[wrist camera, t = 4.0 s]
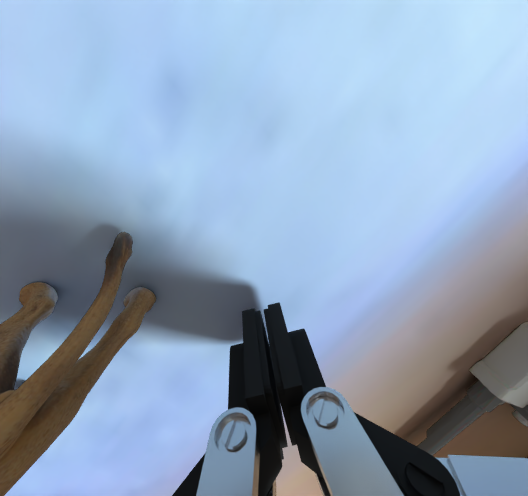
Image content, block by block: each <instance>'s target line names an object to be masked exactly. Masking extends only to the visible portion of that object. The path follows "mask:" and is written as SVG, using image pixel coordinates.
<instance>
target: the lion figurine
mask: <svg viewBox="0 0 528 496" xmlns="http://www.w3.org/2000/svg"><path fill="white" fill-rule="evenodd" d="M132 244H133V241H132V237H131V236H130V235H129V234H128V233H126V232H121V233H119V234H118V235H117V237H116V239H115V241H114V244H113V246H112V248H111V250H110V251H109V253H108V255H107V257H106V270H105V276H104V280H103V283H102V287H101V289H100V292H99V294H98V296H97V297H96V299H95V300H94V302H93V304H92V305H91V307H90V308H89V310H88V311H87V313H86V314H85V315H84V317H83V318H82V319H81V321H80V322H79V324H78V325H77V326H76V327H75V329H74V330H73V331H72V332H71V334H70V335H69V336H68V337H67V338H66V340H65V341H64V342H63V343H62V344H61V346H60V347H59V348H58V349H57V350H56V351H55V352H54V353H53V354H52V355H51V356H50V357H49V358H48V360H47V361H45V362H44V363H43V364H42V365H41V366H40V367H39V368H38V369H37V370H36V371H35V372H34V373H33V374H32V375H31V376H30V377H29V378H28V379H27V380H26V381H25V382H24V383H23V384H22V385H21V386H20V387H19V388H18V389H16V390H14V385H15V381H16V378H17V373H18V368H19V362H20V357H21V353H22V350H23V348H24V346H25V344H26V342H27V340H28V338H29V335H30V332H31V331H32V329H33V328H34V327H35V326H36V325H37V324H38V323H39V322H41V321H42V320H44V319H46V318H47V317H49V316H50V315H51V314H52V312H53V310H54V307H55V304H56V301H57V300H58V296H57V293H56V291H55V289H54V288H53V287H51V286H50V285H48V284H46V283H42V282H36V283H31V284H28V285H26V286H25V287H23V288H22V289H21V291H20V297H19V301H20V302H21V304H22V305H23V307H22V308H21V309H20V310H19V311H18V312H17V313H16V314H14V315H13V316H12V317H10V318H9V319H8V320H6V321H5V322H3V323H2V324H0V496H4V495H5V494H6V493H7V492H8V491H9V490H10V489H11V488H12V487H13V485H14V484H15V483H16V482H17V481H18V480H19V479H20V478H21V477H22V476H23V475H24V474H25V472H26V471H27V470H28V469H29V468H30V467H31V466H32V465H33V464H34V463H35V462H36V461H37V459H38V458H39V457H40V456H41V455H42V454H43V453H44V452H45V451H46V450H47V449H48V448H49V446H50V445H51V444H52V443H53V442H54V441H55V440H56V438H57V437H58V436H59V435H60V434H61V433H62V432H63V430H64V429H65V428H66V427H67V426H68V425H69V424H70V422H71V421H72V420H73V418H74V417H75V415H76V414H77V412H78V411H79V409H80V407H81V405H82V403H83V402H84V400H85V398H86V396H87V394H88V393H89V392H90V390H91V389H92V387H93V386H94V385H95V383H96V382H97V380H98V379H99V377H100V376H101V374H102V373H103V371H104V370H105V369H106V367H107V366H108V364H109V363H110V361H111V360H112V359H113V357H114V356H115V354H116V353H117V352H118V351H119V350H120V348H121V347H122V346H123V345H124V344H125V343H126V341H127V340H128V339H129V338H130V337H131V336H133V335H134V334H135V333H136V332H137V330H138V329H139V327H140V325H141V322H142V320H143V317H144V315H145V313H146V312H148V311H149V310H150V309H151V308H152V306H153V304H154V303H155V301H156V297H155V295H154V293H153V292H151V291H150V290H148V289H146V288H144V287H137V288H135V289H133V290H131V291H130V292H129V293H128V294H127V295H126V297H125V299H124V301H123V303H124V305H125V309H124V310H123V311H122V312H121V313H120V315H119V316H118V317H117V318H116V319H115V320H114V321H113V323H112V325H111V326H110V328H109V329H108V331H107V332H106V333H105V335H104V336H103V337H102V338H101V340H100V341H99V342H98V343H97V345H96V346H95V347H94V348H93V349H91V350H90V351H89V352H88V353H87V354H85V355H84V356H83V357H82V358H80V359H79V357H80V356H81V355H82V353H83V352H84V350H85V349H86V348H87V346H88V345H89V343H90V342H91V340H92V339H93V337H94V336H95V334H96V333H97V331H98V330H99V328H100V327H101V325H102V324H103V322H104V321H105V319H106V317H107V315H108V313H109V312H110V309H111V307H112V305H113V302H114V300H115V297H116V294H117V291H118V288H119V285H120V282H121V276H122V271H123V269H124V266H125V263H126V262H127V260H128V259H129V257H130V256H131V255H132ZM78 359H79V360H78Z"/></svg>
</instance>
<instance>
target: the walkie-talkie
mask: <svg viewBox="0 0 528 496" xmlns="http://www.w3.org/2000/svg"><path fill="white" fill-rule="evenodd" d="M469 370H470V372H471V373H472V374H473V375H475V376H476V377H477V378H478V379H479V380H478V381H477V382H476V383H475V384H474V385H473V386H472V387H470V388H469V389H468V390H467V396H465V397H464V398H463V399H462V400H461V401H460V402H459V403H457V404H456V405H455V406H454V407H453V408H452V409H451V410H450V411H448V412H447V413H446V414H445V415H444V416H443V417H442V418H440V419H439V420H438V421H437V422H436V423H435V424H434V425H432V426H431V427H430V428H429V429H428V430H427V438H426V439H425V440H424V441H422V442H421V443H420V444H419V445H418V446H417V447H418V448H420V449H422V450H424V451H426V452H427V453H429V454H431V455H432V456H433V455H434V454H435V453H436V452H437V451H439V450H440V449H441V448H442V447H443V446H445V445H446V444H447V443H448V442H449V441H451V440H452V439H453V438H454V437H456V436H457V435H458V434H459V433H460V432H462V431H463V430H464V429H465V428H466V427H468V426H469V425H470V424H471V423H472V422H474V421H475V420H476V419H477V418H478V417H480V416H481V415H482V414H483V413H484V412H486V411H487V412H491V411H492V410H493V409H494V408H496V407H497V406H498V405H502V404H503V403H505V402H507V403H509V404H510V405H511V406H512V407H514V408H515V409H516V410H514V411H513V412H512V414H513V416H514V417H515V418H516V419H517V420H519V421H520V422H521V423H522V424H523V425H525V426H527V427H528V321H527V322H525V323H522V324H521V325H520V326H519V327H518V328H517V329H516V330H514V331H513V332H512V333H511V334H510V335H509V336H508V337H507V338H506V339H505V340H503V341H502V342H501V343H500V344H499V345H498V346H497V347H496V348H495V349H494V350H493V351H492V352H490V353H489V354H488V355H487V356H486V357H485V358H484V359H483V360H481V361H479V362H477V363H476V364H475V365H474V366H473V367H472V368H471V369H469Z"/></svg>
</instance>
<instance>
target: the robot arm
mask: <svg viewBox="0 0 528 496" xmlns="http://www.w3.org/2000/svg"><path fill="white" fill-rule="evenodd" d="M264 315H265V321H266V327H267V333H268V339H269V342H268V339H267V335H266V331H265V327H264V323H263V320H262V316H261V312H260V311H255V308H254V309H250V310H245V311H243V312H242V317H243V343H241V344H237V345H233V346H231V347H230V366H229V397H228V410H227V411H225V412H224V413H222V414H221V415H220V416H219V417H218V418H217V420H216V421H215V423H214V424H213V426H212V429H211V432H210V435H209V440H208V445H207V449H206V453H205V454H204V456H203V457H202V458H201V459H200V461H199V462H198V463H197V464H196V466H195V467H194V468H193V470H192V471H191V472H190V473H189V475H188V476H187V477H186V479H185V480H184V481H183V482H182V484H181V485H180V486H179V488H178V489H177V490H176V491H175V493H174V494H173V495H172V496H276V477H277V475H278V474H279V472H280V470H281V468H282V459H284V457H283V451H282V448H284V447H287V440H286V434H285V428H284V422H283V416H282V410H283V414H284V418H285V421H286V425H287V428H288V432H289V436H290V439H291V443H292V445H296V444H297V446H298V450H299V454H300V458H301V462H302V463H304V464H305V465H306V466H308V467H309V468H310V469H311V470H313V471H314V472H315V475H316V478H317V481H318V483H319V486H320V489H321V491H322V494H323V496H528V458H512V457H489V456H467V455H448V457H447V458H435V457H433V456H432V455H431V454H429V453H427V452H426V451H424V450H422V449H420V448H418V447H416V446H415V445H413V444H411V443H409V442H407V441H405V440H404V439H402V438H400V437H398V436H396V435H394V434H393V433H391V432H389V431H387V430H385V429H384V428H382V427H380V426H378V425H376V424H374V423H373V422H371V421H369V420H367V419H365V418H363V417H362V416H360V415H358V414H356V413H354V412H353V411H352V409H351V407H350V406H349V404H348V402H347V401H346V399H345V398H344V397H343V396H342V394H340V393H339V392H337V391H336V390H334V389H331V388H329V387H326V386H325V383H324V380H323V378H322V375H321V372H320V369H319V367H318V364H317V361H316V359H315V356H314V353H313V350H312V348H311V345H310V342H309V340H308V337H307V334H306V332H305V329H300V330H296V331H292V332H287V328H286V324H285V321H284V317H283V313H282V310H281V306H280V303H275V304H271V305H268V309H264ZM269 345H270V346H269ZM280 403H281V404H280ZM281 407H282V410H281Z"/></svg>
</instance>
